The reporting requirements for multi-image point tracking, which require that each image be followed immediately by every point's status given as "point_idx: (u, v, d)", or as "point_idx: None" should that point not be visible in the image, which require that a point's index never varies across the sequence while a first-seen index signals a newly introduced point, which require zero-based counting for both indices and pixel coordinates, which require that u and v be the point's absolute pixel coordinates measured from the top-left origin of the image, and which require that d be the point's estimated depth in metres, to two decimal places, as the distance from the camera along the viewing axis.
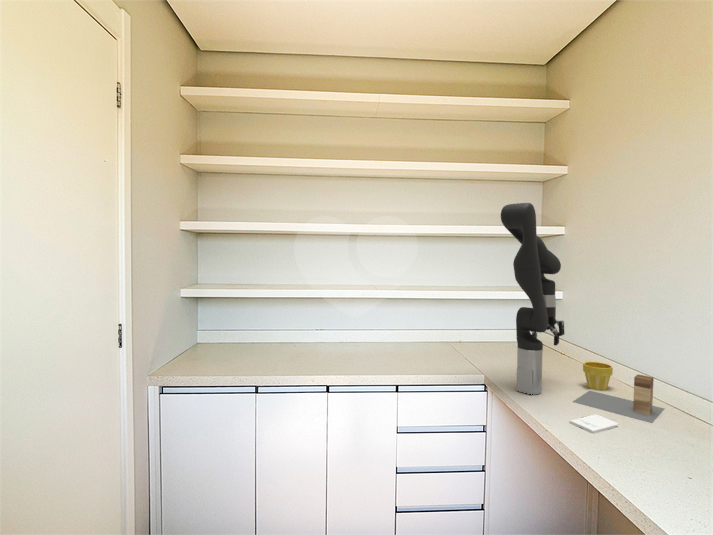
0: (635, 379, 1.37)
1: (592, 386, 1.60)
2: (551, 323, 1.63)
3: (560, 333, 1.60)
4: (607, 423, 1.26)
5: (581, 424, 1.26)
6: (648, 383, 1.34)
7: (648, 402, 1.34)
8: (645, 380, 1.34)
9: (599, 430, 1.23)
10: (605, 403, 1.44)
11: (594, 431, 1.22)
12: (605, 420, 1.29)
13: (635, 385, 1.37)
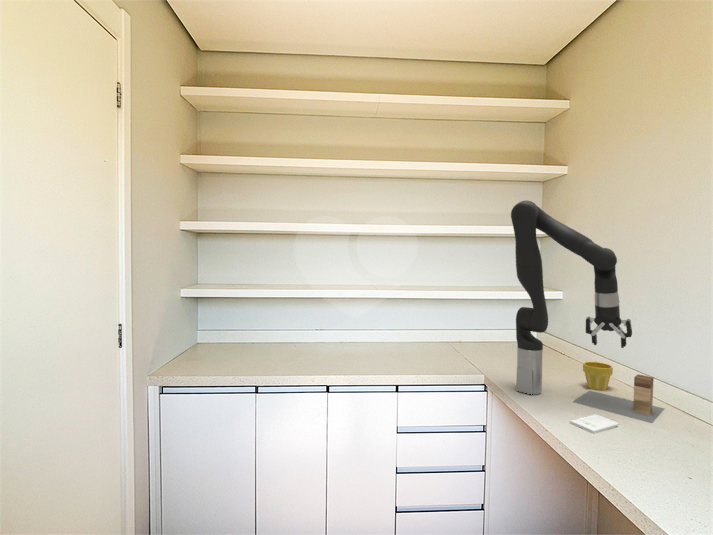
0: (635, 379, 1.37)
1: (592, 386, 1.60)
2: (616, 324, 1.42)
3: (629, 334, 1.40)
4: (607, 423, 1.26)
5: (581, 424, 1.26)
6: (648, 383, 1.34)
7: (648, 402, 1.34)
8: (645, 380, 1.34)
9: (599, 430, 1.23)
10: (605, 403, 1.44)
11: (594, 431, 1.22)
12: (605, 420, 1.29)
13: (635, 385, 1.37)
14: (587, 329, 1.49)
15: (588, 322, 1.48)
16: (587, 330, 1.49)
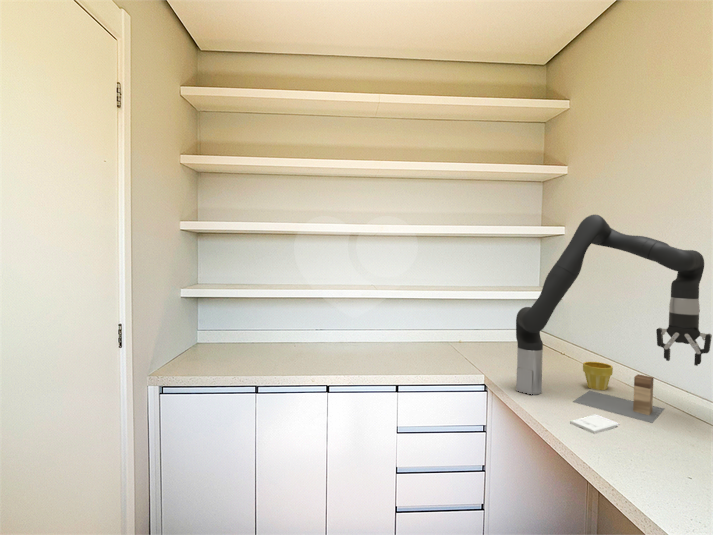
0: (635, 379, 1.37)
1: (592, 386, 1.60)
2: (693, 336, 1.26)
3: (705, 350, 1.24)
4: (607, 423, 1.26)
5: (582, 424, 1.26)
6: (648, 383, 1.34)
7: (648, 402, 1.34)
8: (645, 380, 1.34)
9: (600, 430, 1.23)
10: (605, 403, 1.44)
11: (595, 431, 1.22)
12: (605, 420, 1.29)
13: (635, 385, 1.37)
14: (659, 341, 1.32)
15: (659, 333, 1.32)
16: (659, 342, 1.32)
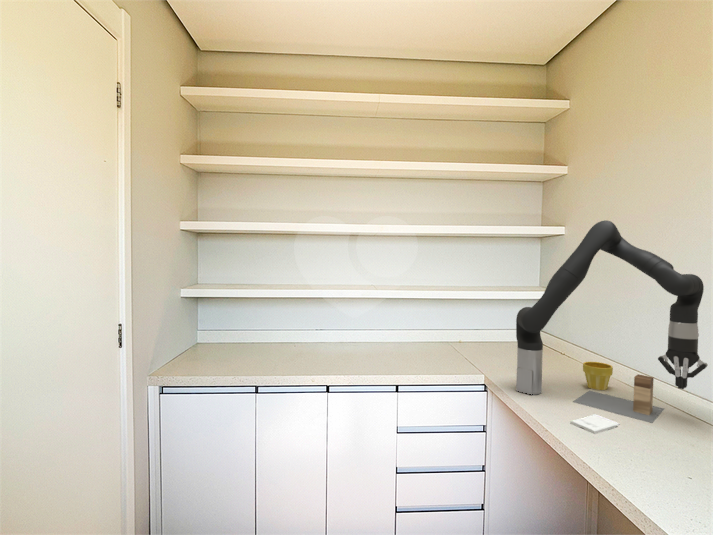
0: (635, 379, 1.37)
1: (592, 386, 1.60)
2: (691, 363, 1.27)
3: (691, 374, 1.26)
4: (607, 423, 1.26)
5: (582, 424, 1.26)
6: (648, 383, 1.34)
7: (648, 402, 1.34)
8: (645, 380, 1.34)
9: (600, 430, 1.23)
10: (605, 403, 1.44)
11: (596, 431, 1.22)
12: (605, 420, 1.29)
13: (635, 385, 1.37)
14: (668, 369, 1.31)
15: (663, 361, 1.32)
16: (671, 370, 1.30)
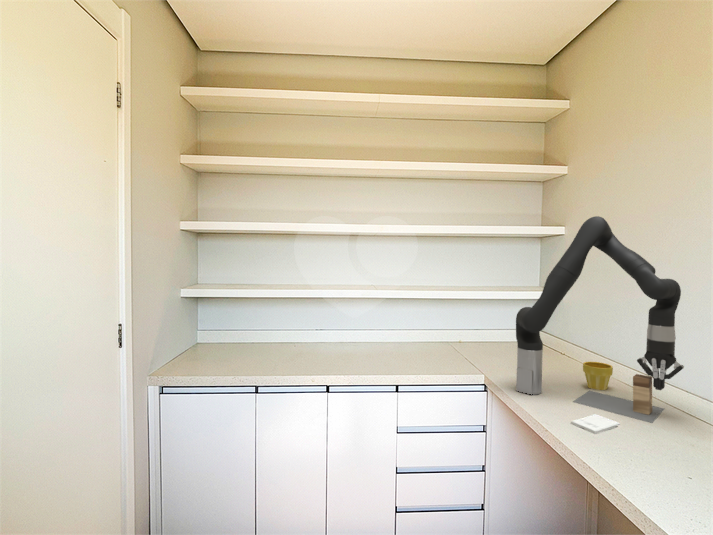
0: (634, 379, 1.37)
1: (592, 386, 1.60)
2: (668, 365, 1.31)
3: (668, 376, 1.31)
4: (608, 423, 1.26)
5: (583, 424, 1.26)
6: (647, 382, 1.34)
7: (647, 401, 1.34)
8: (644, 379, 1.35)
9: (601, 430, 1.23)
10: (605, 403, 1.44)
11: (596, 431, 1.22)
12: (605, 420, 1.29)
13: (634, 385, 1.37)
14: (646, 370, 1.35)
15: (641, 362, 1.36)
16: (649, 371, 1.34)
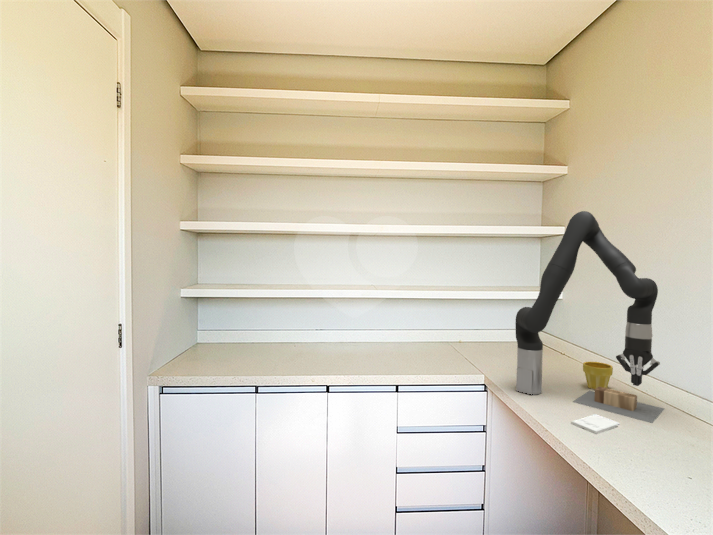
0: (596, 400, 1.46)
1: (592, 386, 1.60)
2: (645, 361, 1.35)
3: (645, 372, 1.35)
4: (608, 423, 1.26)
5: (583, 425, 1.26)
6: (598, 391, 1.45)
7: (619, 395, 1.40)
8: (595, 393, 1.46)
9: (601, 430, 1.23)
10: None
11: (597, 431, 1.22)
12: (606, 420, 1.29)
13: (603, 402, 1.44)
14: (625, 367, 1.40)
15: (620, 359, 1.41)
16: (627, 367, 1.39)
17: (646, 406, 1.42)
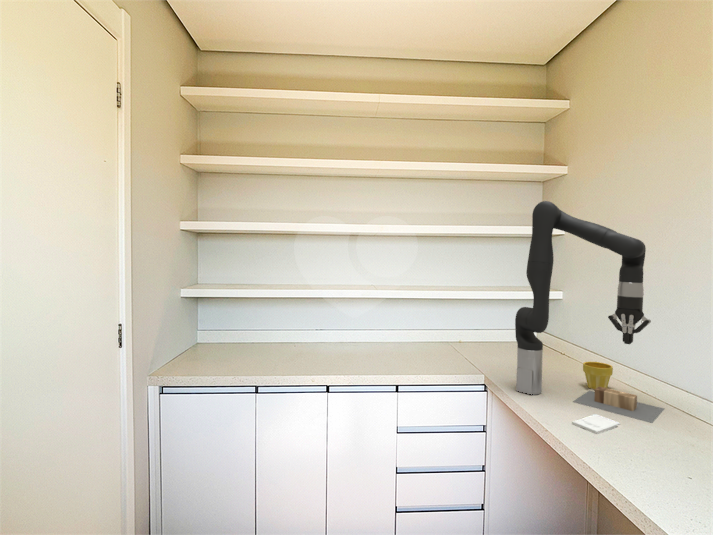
0: (596, 400, 1.46)
1: (592, 386, 1.60)
2: (636, 319, 1.38)
3: (636, 330, 1.38)
4: (608, 423, 1.27)
5: (584, 425, 1.25)
6: (598, 391, 1.45)
7: (619, 395, 1.40)
8: (595, 393, 1.46)
9: (602, 430, 1.23)
10: None
11: (598, 431, 1.22)
12: (606, 420, 1.29)
13: (603, 402, 1.44)
14: (616, 326, 1.42)
15: (612, 319, 1.43)
16: (618, 327, 1.42)
17: (646, 406, 1.42)
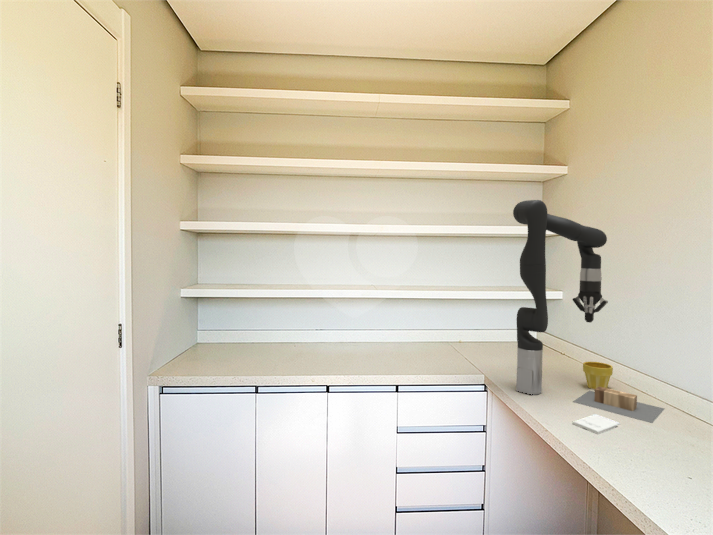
0: (596, 400, 1.46)
1: (592, 386, 1.60)
2: (595, 300, 1.59)
3: (595, 309, 1.59)
4: (609, 423, 1.27)
5: (585, 425, 1.25)
6: (598, 391, 1.45)
7: (619, 395, 1.40)
8: (595, 393, 1.46)
9: (603, 430, 1.23)
10: None
11: (599, 432, 1.21)
12: (606, 420, 1.29)
13: (603, 402, 1.44)
14: (579, 307, 1.63)
15: (576, 301, 1.64)
16: (581, 307, 1.63)
17: (646, 406, 1.42)
